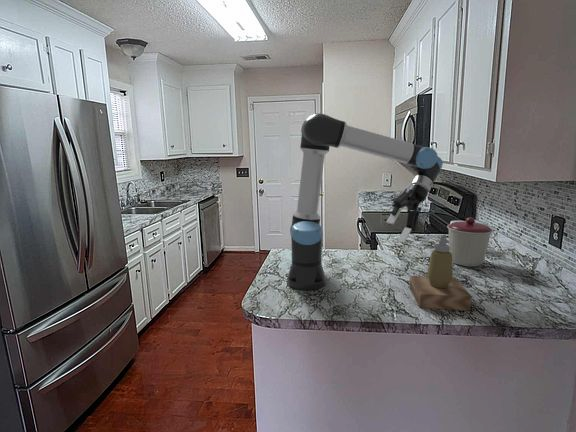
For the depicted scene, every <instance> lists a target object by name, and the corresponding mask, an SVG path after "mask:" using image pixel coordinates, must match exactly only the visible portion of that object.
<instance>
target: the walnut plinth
mask: <svg viewBox="0 0 576 432" xmlns="http://www.w3.org/2000/svg"><path fill="white" fill-rule="evenodd" d="M409 277H410V278H409V290H410V292H411V294H412V296H413V297H414V299H415V301H416V304H417V306H418V307H419V309H431V310H432V309H435V310H452V309H454V310H455V311H471V307H472V306H471V305H472V299H473V296H472V295H471V294H470V292H469V291H468V290H467V289H466V288H465V287H464V286H463V284H462V283H461V282H460V281H459V280H458V279H457V278H456V277H455V276H454V277H452V279H451V281H450V283H449V285H448V287H446V288H437V287H434V286H432V285H430V282H429V278H428V275H410V276H409Z"/></svg>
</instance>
